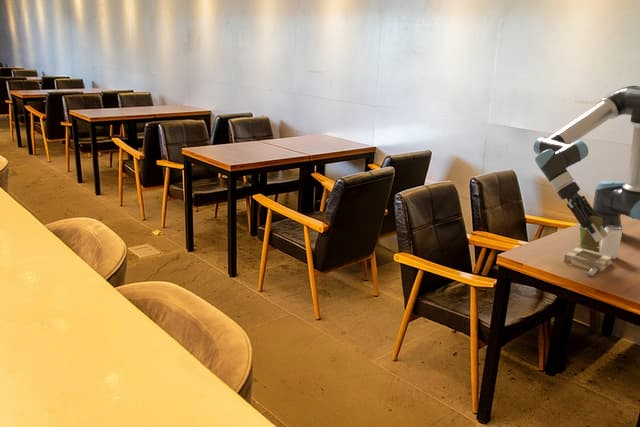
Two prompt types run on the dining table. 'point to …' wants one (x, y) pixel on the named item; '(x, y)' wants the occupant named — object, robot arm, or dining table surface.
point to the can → (611, 241)
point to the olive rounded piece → (588, 238)
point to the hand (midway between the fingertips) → (602, 238)
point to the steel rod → (592, 271)
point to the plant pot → (582, 232)
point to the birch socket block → (588, 259)
